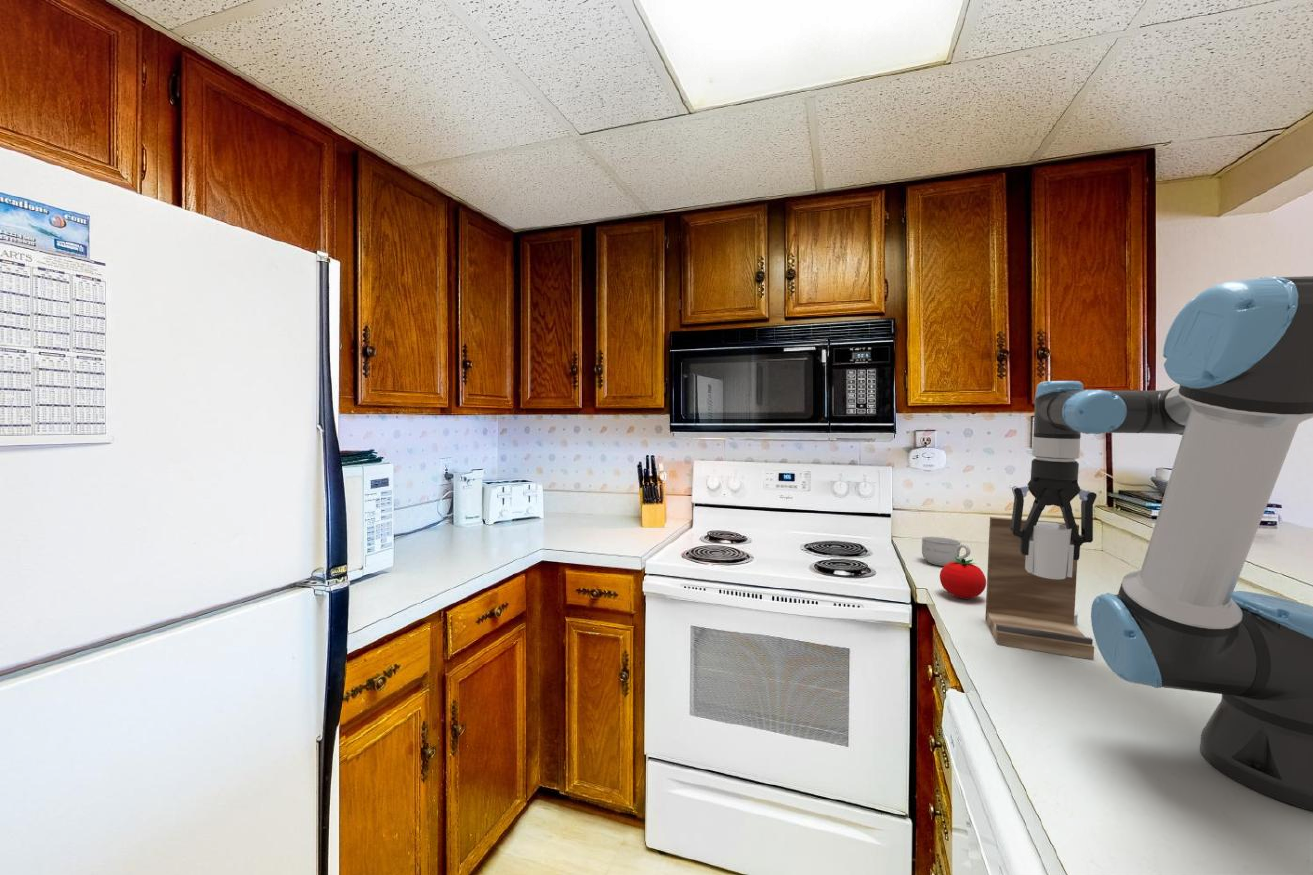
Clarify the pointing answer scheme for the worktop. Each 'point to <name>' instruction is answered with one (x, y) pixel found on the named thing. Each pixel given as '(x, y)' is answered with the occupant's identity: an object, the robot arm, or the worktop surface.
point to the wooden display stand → (1029, 600)
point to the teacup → (942, 550)
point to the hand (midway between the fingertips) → (1047, 572)
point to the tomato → (962, 579)
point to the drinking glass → (1050, 550)
